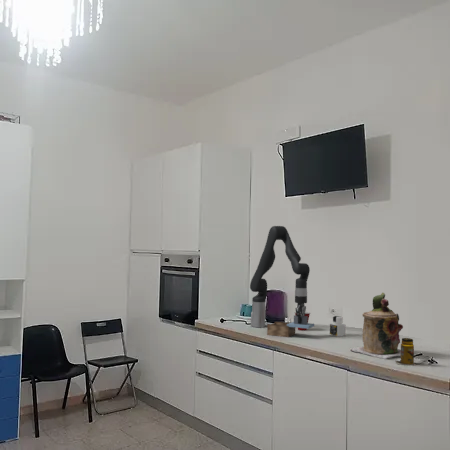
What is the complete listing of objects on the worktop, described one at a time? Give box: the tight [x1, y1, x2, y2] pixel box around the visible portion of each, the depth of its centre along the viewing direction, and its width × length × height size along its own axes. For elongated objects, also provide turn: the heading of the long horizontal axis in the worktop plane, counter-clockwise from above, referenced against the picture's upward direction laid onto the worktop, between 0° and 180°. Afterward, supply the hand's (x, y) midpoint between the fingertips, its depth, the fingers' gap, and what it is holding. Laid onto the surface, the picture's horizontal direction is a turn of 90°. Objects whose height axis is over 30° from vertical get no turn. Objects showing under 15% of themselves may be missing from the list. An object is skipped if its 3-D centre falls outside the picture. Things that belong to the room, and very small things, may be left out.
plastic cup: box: [294, 311, 311, 331], centre depth 337 cm, size 11×11×12 cm
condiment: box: [394, 337, 416, 366], centre depth 243 cm, size 7×8×12 cm
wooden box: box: [266, 321, 296, 338], centre depth 316 cm, size 14×13×7 cm
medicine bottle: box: [329, 315, 347, 337], centre depth 318 cm, size 7×7×12 cm
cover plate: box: [287, 314, 315, 330], centre depth 310 cm, size 14×12×6 cm
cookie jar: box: [349, 292, 404, 360], centre depth 267 cm, size 25×25×32 cm
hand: (300, 322), depth 310 cm, fingers closed on cover plate, 3 cm apart
